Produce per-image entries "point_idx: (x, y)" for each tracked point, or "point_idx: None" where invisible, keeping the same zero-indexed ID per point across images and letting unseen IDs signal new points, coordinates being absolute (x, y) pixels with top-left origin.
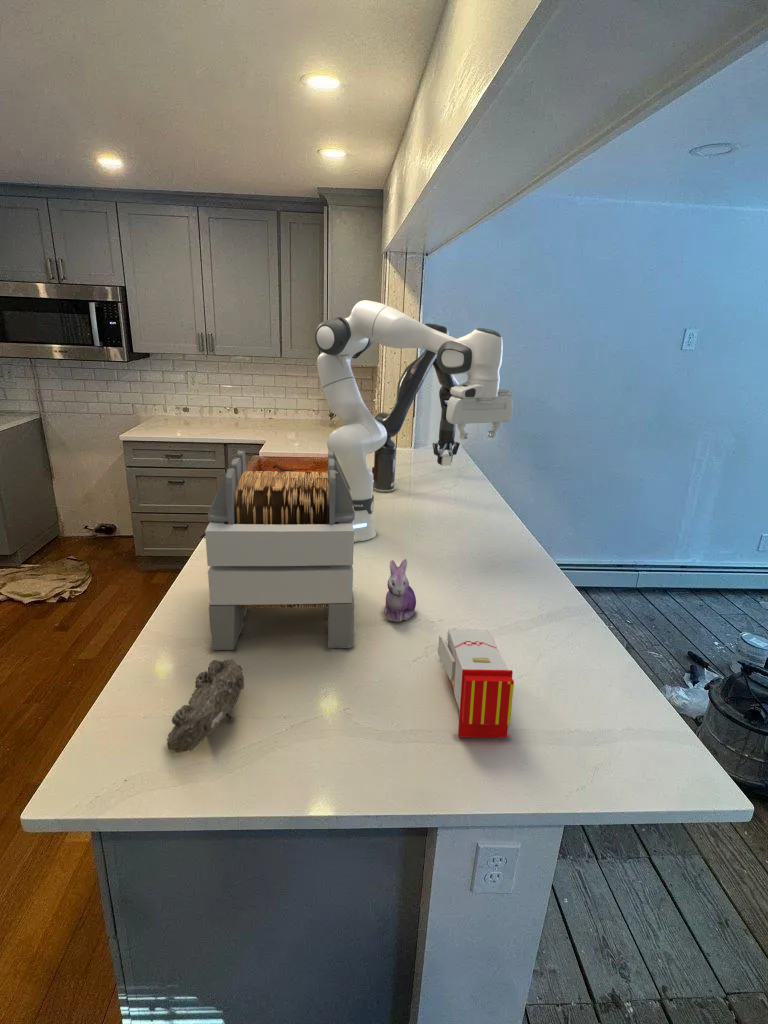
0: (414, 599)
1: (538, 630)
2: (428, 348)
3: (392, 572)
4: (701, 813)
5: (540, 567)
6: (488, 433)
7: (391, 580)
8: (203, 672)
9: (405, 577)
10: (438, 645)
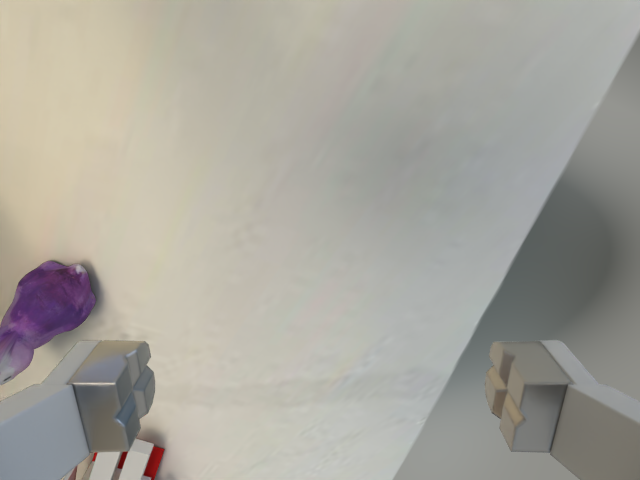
0: (75, 326)
1: (307, 412)
2: None
3: None
4: None
5: (516, 203)
6: (512, 365)
7: None
8: None
9: (6, 374)
10: (67, 473)
